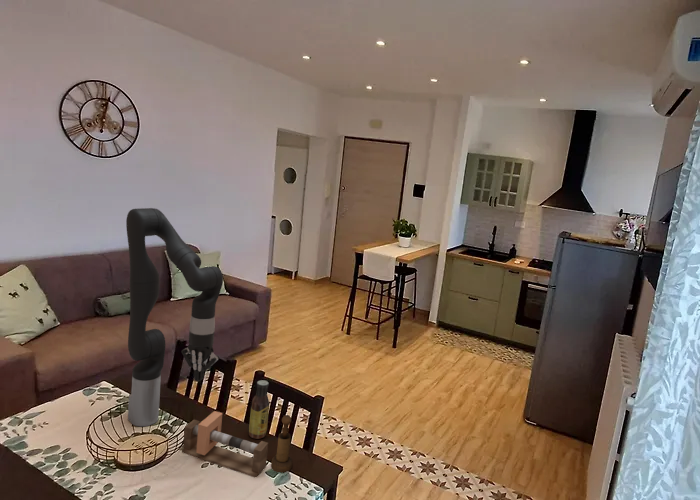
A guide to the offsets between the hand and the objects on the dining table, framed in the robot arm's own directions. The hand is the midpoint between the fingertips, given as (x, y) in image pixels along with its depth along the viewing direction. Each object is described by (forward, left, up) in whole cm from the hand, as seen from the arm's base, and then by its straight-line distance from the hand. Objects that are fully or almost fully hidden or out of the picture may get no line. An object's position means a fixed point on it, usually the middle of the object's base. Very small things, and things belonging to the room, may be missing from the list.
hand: (198, 380), depth 154 cm
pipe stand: (+11, 0, -24) cm, 27 cm away
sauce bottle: (+14, +17, -25) cm, 33 cm away
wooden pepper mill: (+29, +5, -25) cm, 39 cm away
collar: (+6, 0, -22) cm, 23 cm away
